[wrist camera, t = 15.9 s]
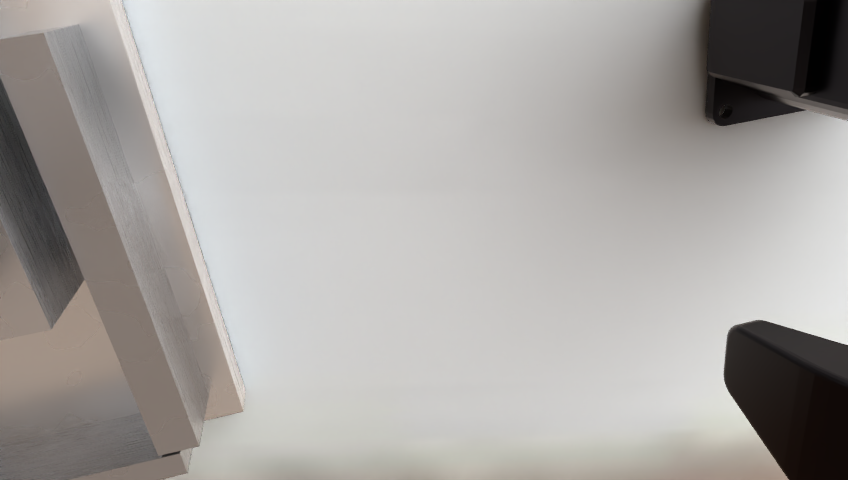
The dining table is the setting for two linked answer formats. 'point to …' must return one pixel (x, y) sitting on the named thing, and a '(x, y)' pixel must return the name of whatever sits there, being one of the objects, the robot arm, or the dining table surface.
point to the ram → (29, 239)
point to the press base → (108, 265)
